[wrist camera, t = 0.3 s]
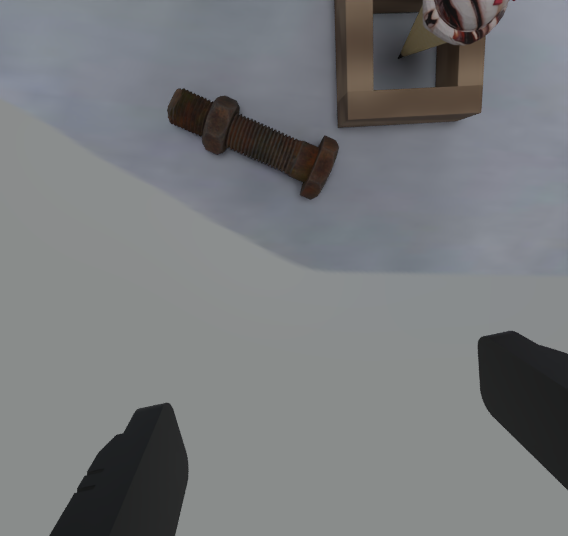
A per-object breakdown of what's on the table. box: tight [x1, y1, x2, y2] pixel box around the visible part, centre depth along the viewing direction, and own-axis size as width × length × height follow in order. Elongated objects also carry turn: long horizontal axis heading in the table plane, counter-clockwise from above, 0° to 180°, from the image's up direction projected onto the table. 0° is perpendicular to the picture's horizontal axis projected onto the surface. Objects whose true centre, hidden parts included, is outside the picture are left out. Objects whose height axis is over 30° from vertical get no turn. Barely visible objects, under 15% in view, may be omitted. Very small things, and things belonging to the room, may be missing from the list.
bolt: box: [167, 88, 339, 200], centre depth 32 cm, size 6×5×15 cm
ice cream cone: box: [398, 0, 515, 59], centre depth 26 cm, size 6×6×15 cm
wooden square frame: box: [334, 0, 486, 128], centre depth 32 cm, size 12×12×4 cm
